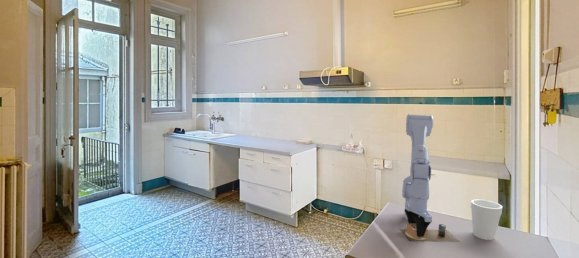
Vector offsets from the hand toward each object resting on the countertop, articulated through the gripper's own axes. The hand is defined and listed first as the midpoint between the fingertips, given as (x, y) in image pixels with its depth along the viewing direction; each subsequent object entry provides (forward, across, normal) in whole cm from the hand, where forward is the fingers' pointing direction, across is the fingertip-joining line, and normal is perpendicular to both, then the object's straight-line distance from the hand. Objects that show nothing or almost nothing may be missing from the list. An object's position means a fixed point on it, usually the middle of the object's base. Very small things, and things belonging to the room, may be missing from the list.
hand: (416, 232), depth 105 cm
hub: (+2, 0, 0) cm, 2 cm away
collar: (+1, 0, 0) cm, 1 cm away
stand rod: (+2, +1, +9) cm, 9 cm away
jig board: (+2, 0, +5) cm, 5 cm away
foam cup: (+2, +1, +25) cm, 25 cm away
